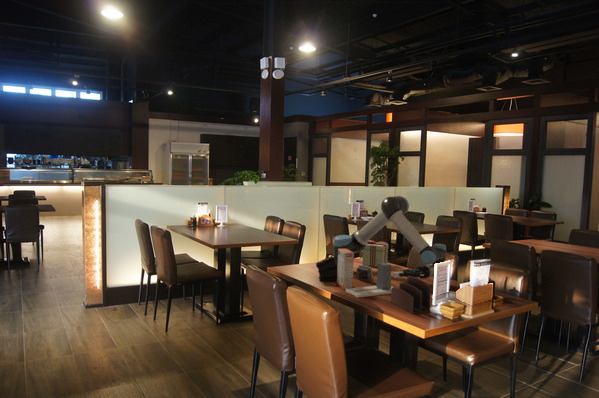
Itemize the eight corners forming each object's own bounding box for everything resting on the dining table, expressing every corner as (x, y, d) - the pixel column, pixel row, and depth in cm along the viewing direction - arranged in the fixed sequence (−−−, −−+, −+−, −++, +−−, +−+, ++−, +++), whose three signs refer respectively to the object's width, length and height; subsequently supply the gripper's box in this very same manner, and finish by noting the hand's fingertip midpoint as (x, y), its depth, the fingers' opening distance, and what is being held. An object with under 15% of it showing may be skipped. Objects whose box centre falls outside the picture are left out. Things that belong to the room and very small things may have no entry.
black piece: (343, 278, 258) (333, 256, 257) (323, 288, 257) (313, 266, 255) (341, 277, 262) (332, 255, 260) (322, 286, 261) (312, 264, 259)
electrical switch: (373, 281, 261) (373, 266, 260) (368, 283, 257) (368, 268, 256) (361, 278, 268) (360, 264, 267) (356, 280, 264) (355, 265, 263)
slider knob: (384, 285, 244) (385, 262, 244) (391, 288, 239) (392, 264, 238) (375, 286, 242) (376, 263, 241) (382, 289, 236) (383, 265, 236)
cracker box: (353, 289, 241) (354, 252, 240) (342, 290, 240) (344, 252, 239) (346, 283, 255) (347, 248, 253) (336, 283, 254) (337, 248, 252)
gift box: (388, 263, 316) (389, 239, 315) (384, 268, 299) (385, 243, 298) (365, 261, 322) (366, 238, 321) (359, 265, 305) (360, 241, 304)
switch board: (386, 286, 249) (387, 284, 249) (400, 292, 238) (400, 289, 238) (345, 291, 237) (345, 288, 237) (357, 297, 226) (357, 294, 226)
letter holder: (407, 300, 223) (408, 273, 222) (430, 312, 204) (431, 283, 204) (390, 302, 220) (391, 274, 219) (412, 314, 201) (413, 284, 201)
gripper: (433, 280, 247) (400, 284, 237) (418, 275, 259) (386, 279, 249) (434, 267, 247) (401, 270, 237) (418, 263, 259) (386, 266, 248)
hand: (393, 275), depth 243 cm, fingers closed
